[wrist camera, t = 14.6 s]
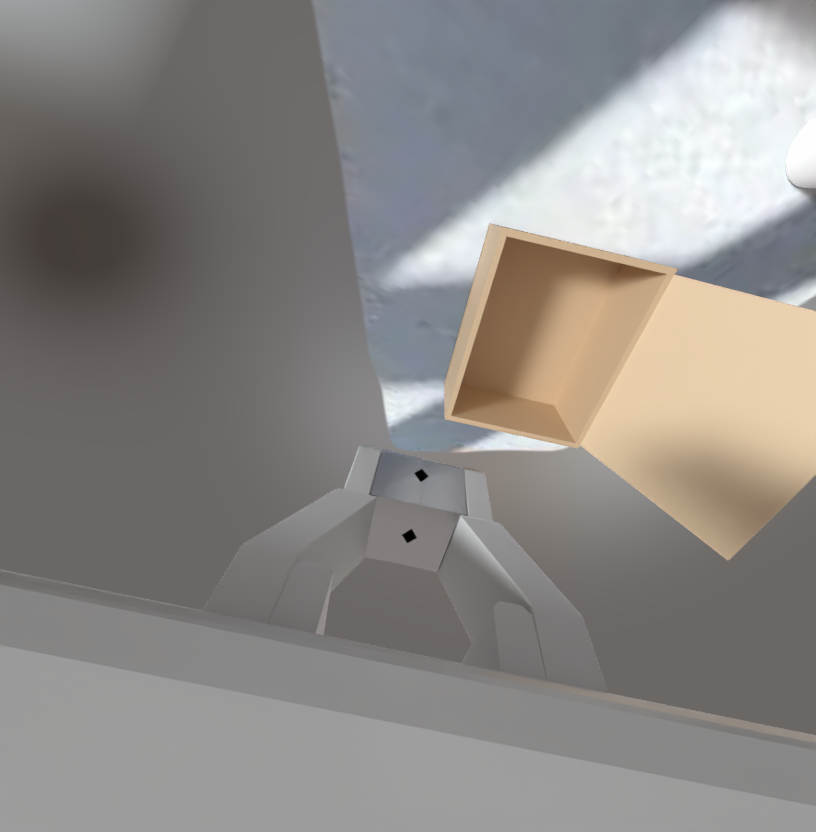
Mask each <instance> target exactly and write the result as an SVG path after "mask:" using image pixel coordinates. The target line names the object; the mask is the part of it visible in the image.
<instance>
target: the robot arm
mask: <svg viewBox="0 0 816 832" xmlns="http://www.w3.org/2000/svg"><path fill="white" fill-rule="evenodd" d="M364 557H367V558H372V559H378V560H383V561H389V562H395V563H400V564H404V565H408V566H412V567H417V568H421V569H425V570H430V571H434V572H438V576H439V578H440V580H441V582H442V584H443V586H444V588H445V590H446V592H447V594H448V596H449V598H450V600H451V602H452V604H453V606H454V608H455V610H456V612H457V614H458V616H459V618H460V620H461V622H462V624H463V626H464V628H465V630H466V632H467V634H468V636H469V638H470V640H471V642H472V645H471V647H470V649H469V650H468V652H467V654H466V655H465V657H464V659H463V661H462V663H456V662H452V661H447V660H441V659H437V658H432V657H427V656H422V655H417V654H413V653H408V652H403V651H398V650H393V649H388V648H383V647H378V646H373V645H368V644H363V643H359V642H353V641H349V640H343V639H339V638H334V637H329V636H324V635H323V634H324V628H325V622H326V615H327V609H328V603H329V595H330V592H331V591H332V590H333V589H334V588H335V587H336V586H337V585H338V584H339V583H340V582H341V581H342V580H343V579H344V578H345V577H346V576H347V575H348V574H349V573H350V572H351V571H352V570H353V569H354V568H355V567H356V566H357V565H358V564H359V563H360V562H361V561H362V560H363V558H364ZM0 832H816V735H811V734H806V733H801V732H796V731H791V730H786V729H781V728H776V727H771V726H767V725H762V724H757V723H752V722H747V721H742V720H737V719H733V718H728V717H723V716H718V715H713V714H708V713H703V712H698V711H693V710H688V709H684V708H679V707H674V706H669V705H664V704H659V703H654V702H649V701H644V700H639V699H634V698H629V697H625V696H620V695H614V694H610V693H608V690H607V687H606V684H605V682H604V679H603V676H602V673H601V670H600V667H599V664H598V661H597V658H596V655H595V652H594V649H593V646H592V643H591V640H590V637H589V634H588V632H587V629H586V626H585V623H584V620H583V617H582V616H581V615H580V613H579V612H578V611H577V610H576V609H575V608H574V607H573V605H572V604H571V603H570V602H569V601H568V600H567V599H566V598H565V596H564V595H563V594H562V593H561V592H560V591H559V590H558V589H557V587H556V586H555V585H554V584H553V583H552V582H551V581H550V580H549V578H548V577H547V576H546V575H545V574H544V573H543V572H542V570H541V569H540V568H539V567H538V566H537V565H536V564H535V563H534V561H533V560H532V559H531V558H530V557H529V556H528V555H527V554H526V553H525V551H524V550H523V549H522V548H521V547H520V546H519V545H518V543H517V542H516V541H515V540H514V539H513V538H512V537H511V535H510V534H509V533H508V532H507V531H506V530H505V529H504V528H503V526H502V525H501V524H500V523H497V522H493V518H492V511H491V505H490V500H489V494H488V487H487V481H486V476H485V473H484V472H483V471H480V470H475V469H470V468H465V467H462V468H460V467H456V466H452V465H447V464H442V463H437V462H433V461H428V460H423V459H421V458H417V457H412V456H408V455H404V454H400V453H396V452H392V451H388V450H383V449H382V451H381V449H379V448H374V447H370V446H365V445H360V446H359V448H358V451H357V454H356V456H355V459H354V462H353V465H352V468H351V470H350V473H349V476H348V478H347V481H346V484H345V487H344V489H339V488H337V489H335V490H333V491H331V492H330V493H328V494H326V495H325V496H323V497H322V498H320V499H318V500H317V501H315V502H313V503H311V504H310V505H308V506H306V507H305V508H303V509H301V510H300V511H298V512H296V513H295V514H293V515H291V516H290V517H288V518H286V519H284V520H283V521H281V522H279V523H278V524H276V525H274V526H273V527H271V528H269V529H268V530H266V531H264V532H263V533H261V534H259V535H258V536H256V537H254V538H252V539H251V540H249V541H247V542H246V543H245V544H242V546H241V547H240V549H239V551H238V552H237V554H236V556H235V557H234V559H233V560H232V562H231V564H230V565H229V567H228V569H227V570H226V572H225V574H224V575H223V577H222V578H221V580H220V582H219V584H218V585H217V587H216V588H215V590H214V592H213V593H212V595H211V597H210V598H209V600H208V602H207V603H206V605H205V606H204V608H203V610H196V609H192V608H187V607H182V606H177V605H172V604H167V603H162V602H157V601H152V600H147V599H143V598H138V597H133V596H128V595H123V594H118V593H113V592H108V591H103V590H98V589H94V588H88V587H84V586H79V585H74V584H69V583H64V582H59V581H54V580H50V579H45V578H39V577H35V576H30V575H25V574H20V573H15V572H10V571H5V570H0Z"/></svg>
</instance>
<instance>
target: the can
mask: <svg viewBox="0 0 816 832" xmlns="http://www.w3.org/2000/svg"><path fill="white" fill-rule="evenodd" d="M786 173H787V176H788V178H789V180H790V181H791V182H792V183H793V184H794V185H796V186H798V187H802V188H816V117H815V118H813V119H812V120H811V121H810V122H809V123H808V124H807V125H806V126H805V127H804V128H803V129H802V130H801V131H800V132H799V134H798V135H797V136H796V138H795V140H794V141H793V143H792V145H791V147H790V149H789V151H788V154H787V158H786Z"/></svg>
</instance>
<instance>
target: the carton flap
mask: <svg viewBox="0 0 816 832" xmlns="http://www.w3.org/2000/svg"><path fill="white" fill-rule="evenodd" d="M581 446H582V447H583V448H585V449H586V450H587V451H588V452H590V453H591V454H592V455H593V456H595V457H596V458H597V459H599V460H600V461H601V462H602V463H604V464H605V465H606V466H608V467H609V468H610V469H612V470H613V471H614V472H615V473H617V474H618V475H619V476H620V477H622V478H623V479H624V480H626V481H627V482H628V483H629V484H631V485H632V486H633V487H635V488H636V489H637V490H638V491H640V492H641V493H642V494H643V495H645V496H646V497H647V498H649V499H650V500H651V501H652V502H654V503H655V504H656V505H658V506H659V507H660V508H661V509H663V510H664V511H665V512H666V513H668V514H669V515H670V516H672V517H673V518H674V519H675V520H677V521H678V522H679V523H681V524H682V525H683V526H684V527H686V528H687V529H688V530H690V531H691V532H692V533H693V534H695V535H696V536H697V537H699V538H700V539H701V540H702V541H704V542H705V543H706V544H707V545H709V546H710V547H712V548H713V549H714V550H715V551H716V552H718V553H719V554H720V555H722V556H723V557H724V558H725V559H727V560H730V559H731V558H732V557H733V556H734V555H735V554H736V553H737V552H738V551H739V550H740V549H741V548H742V547H743V546H744V545H745V544H746V543H747V542H748V541H749V540H750V539H751V538H752V537H753V536H754V535H755V534H756V533H757V532H758V531H759V530H760V529H762V528H763V527H764V526H765V525H766V524H767V523H768V521H769V520H771V519H772V518H773V517H774V516H775V515H776V514H777V513H778V512H779V511H780V510H781V509H782V508H783V507H784V506H785V505H786V504H787V503H788V502H789V501H790V500H791V499H792V498H793V497H794V496H795V495H796V494H797V493H798V492H799V491H800V490H801V489H802V488H803V487H804V486H805V485H806V484H807V483H808V482H809V481H810V480H811V479H812V478H813V477H814V476H815V475H816V311H813V310H809V309H805V308H801V307H798V306H794V305H790V304H786V303H782V302H778V301H774V300H770V299H767V298H763V297H759V296H755V295H751V294H747V293H743V292H740V291H736V290H732V289H728V288H724V287H720V286H716V285H713V284H709V283H705V282H701V281H697V280H693V279H689V278H685V277H682V276H678V275H674V276H673V278H672V280H671V282H670V283H669V285H668V287H667V289H666V291H665V293H664V294H663V296H662V298H661V300H660V302H659V303H658V305H657V307H656V309H655V311H654V312H653V314H652V316H651V318H650V320H649V322H648V323H647V325H646V327H645V329H644V331H643V332H642V334H641V336H640V338H639V340H638V341H637V343H636V345H635V347H634V349H633V351H632V352H631V354H630V356H629V358H628V360H627V361H626V363H625V365H624V367H623V369H622V370H621V372H620V374H619V376H618V378H617V380H616V381H615V383H614V385H613V387H612V389H611V390H610V392H609V394H608V396H607V398H606V399H605V401H604V403H603V405H602V407H601V409H600V410H599V412H598V414H597V416H596V418H595V419H594V421H593V423H592V425H591V427H590V428H589V430H588V432H587V434H586V436H585V438H584V439H583V441H582V443H581Z"/></svg>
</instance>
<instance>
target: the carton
mask: <svg viewBox="0 0 816 832" xmlns="http://www.w3.org/2000/svg"><path fill="white" fill-rule="evenodd" d="M676 271H677V269H676V268H672V267H668V266H665V265H661V264H657V263H653V262H649V261H645V260H641V259H637V258H633V257H629V256H625V255H620V254H616V253H612V252H608V251H604V250H599V249H595V248H591V247H587V246H582V245H578V244H574V243H570V242H566V241H561V240H557V239H553V238H549V237H545V236H540V235H536V234H532V233H528V232H523V231H519V230H515V229H511V228H507V227H502V226H498V225H494V224H489V227H488V231H487V234H486V238H485V241H484V245H483V248H482V252H481V255H480V259H479V262H478V266H477V270H476V273H475V277H474V280H473V284H472V287H471V291H470V294H469V298H468V301H467V305H466V308H465V312H464V316H463V319H462V323H461V326H460V330H459V333H458V337H457V340H456V344H455V347H454V351H453V354H452V358H451V362H450V365H449V369H448V372H447V376H446V379H445V383H444V389H445V419H447V420H451V421H456V422H460V423H465V424H469V425H474V426H478V427H483V428H487V429H492V430H496V431H501V432H505V433H510V434H514V435H519V436H524V437H528V438H533V439H537V440H542V441H546V442H551V443H555V444H560V445H564V446H569V447H574V448H579V447H580V445H581V443H582V441H583V439H584V438H585V436H586V434H587V432H588V430H589V428H590V427H591V425H592V423H593V421H594V419H595V418H596V416H597V414H598V412H599V410H600V409H601V407H602V405H603V403H604V401H605V399H606V398H607V396H608V394H609V392H610V390H611V389H612V387H613V385H614V383H615V381H616V380H617V378H618V376H619V374H620V372H621V370H622V369H623V367H624V365H625V363H626V361H627V360H628V358H629V356H630V354H631V352H632V351H633V349H634V347H635V345H636V343H637V341H638V340H639V338H640V336H641V334H642V332H643V331H644V329H645V327H646V325H647V323H648V322H649V320H650V318H651V316H652V314H653V312H654V311H655V309H656V307H657V305H658V303H659V302H660V300H661V298H662V296H663V294H664V293H665V291H666V289H667V287H668V285H669V283H670V282H671V280H672V278H673V276H674V274H675V273H676Z"/></svg>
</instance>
